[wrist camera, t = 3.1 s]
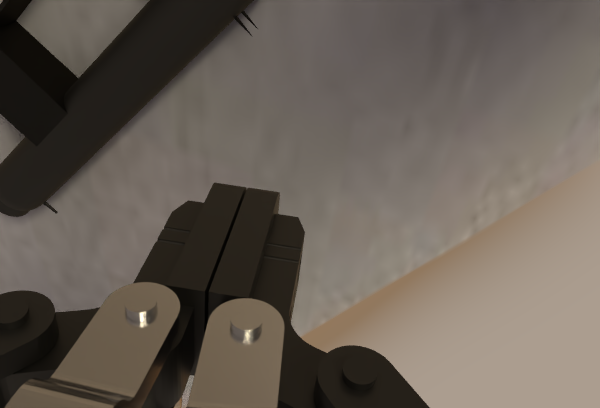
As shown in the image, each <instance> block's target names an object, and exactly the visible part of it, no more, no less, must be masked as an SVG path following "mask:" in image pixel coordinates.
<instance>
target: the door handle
mask: <svg viewBox="0 0 600 408" xmlns="http://www.w3.org/2000/svg"><path fill="white" fill-rule="evenodd" d="M253 1H254V0H150V1H149V2H148V3H147V4H146V5H145V6H144V7H143V9H142V10H141V11H140V12H139V13H138V14H137V15H136V16H135V17H134V18H133V20H132V21H131V22H130V23H129V24H128V25H127V26H126V27H125V28H124V29H123V30H122V32H121V33H120V34H119V35H118V36H117V37H116V38H115V39H114V40H113V41H112V43H111V44H110V45H109V46H108V47H107V48H106V49H105V50H104V51H103V52H102V53H101V55H100V56H99V57H98V58H97V59H96V60H95V61H94V62H93V63H92V64H91V66H90V67H89V68H88V69H87V70H86V71H85V72H84V73H83V74H82V75H81V77H80V78H77V77H76V76H75V75H74V74H73V73H72V72H71V71H70V70H69V69H68V68H67V67H66V66H64V65H63V64H62V63H61V62H60V61H59V60H58V59H57V58H56V57H55V56H54V55H52V54H51V53H50V52H49V51H48V50H47V49H46V48H45V47H44V46H43V45H42V44H41V43H39V42H38V41H37V40H36V39H35V38H34V37H33V36H32V35H31V34H30V33H29V32H28V31H26V30H25V29H24V28H23V27H22V26H21V25H20V24H19V23H18V22H17V21H16V20H17V18H18V17H19V16H20V15H21V13H22V12H23V11H24V9H25V8H26V7H27V6H28V4H29V3H30V2H31V0H3V1H2V3H1V4H0V114H1V115H3V116H4V117H5V118H6V119H7V120H8V121H9V122H10V123H11V124H12V125H14V126H15V127H16V128H17V129H18V130H19V131H20V132H21V133H22V134H23V135H24V136H26V137H25V138H24V139H23V140H22V141H21V142H20V143H19V144H18V146H17V147H16V148H15V149H14V150H13V151H12V152H11V153H10V154H9V155H8V156H7V158H6V159H5V160H4V161H3V162H2V163H1V164H0V212H1V213H3V214H5V215H8V216H14V217H18V216H23V215H25V214H26V213H28V212H29V211H30V210H32V209H35V208H37V207H39V206H41V205H42V204H45V205H46V206H47V207H48V208H50V209H51V210H52V211H53V212H55V213H58V212H57V211H56V210H55V209H54V208H53V207H51V206H50V205H49V204H48V203H47V202H46V201H47V200H48V199H49V198H50V197H51V196H52V195H53V194H54V193H55V192H56V191H57V190H58V189H59V188H60V187H61V186H62V185H63V184H64V183H65V182H66V181H67V180H68V179H69V178H71V177H72V176H73V175H74V174H75V173H76V172H77V171H78V170H79V169H80V168H81V167H82V166H83V165H84V164H85V163H86V162H87V161H88V160H89V159H90V158H91V157H92V156H93V155H94V154H95V153H96V152H97V151H98V150H99V149H100V148H102V147H103V146H104V145H105V144H106V143H107V142H108V141H109V140H110V139H111V138H112V137H113V136H114V135H115V134H116V133H117V132H118V131H119V130H120V129H121V128H122V127H123V126H124V125H125V124H126V123H127V122H128V121H129V120H130V119H132V118H133V117H134V116H135V115H136V114H137V113H138V112H139V111H140V110H141V109H142V108H143V107H144V106H145V105H146V104H147V103H148V102H149V101H150V100H151V99H152V98H153V97H154V96H155V95H156V94H157V93H158V92H159V91H160V90H162V89H163V88H164V87H165V86H166V85H167V84H168V83H169V82H170V81H171V80H172V79H173V78H174V77H175V76H176V75H177V74H178V73H179V72H180V71H181V70H182V69H183V68H184V67H185V66H186V65H187V64H188V63H189V62H190V61H192V60H193V59H194V58H195V57H196V56H197V55H198V54H199V53H200V52H201V51H202V50H203V49H204V48H205V47H206V46H207V45H208V44H209V43H210V42H211V41H212V40H213V39H214V38H215V37H216V36H217V35H218V34H219V33H220V32H222V31H223V30H224V29H225V28H226V27H227V26H228V25H229V24H230V23H231V22H232V21H233V20H234V19H235V20H236V21H237V22H238V23H239V24H240V25H241V26H242V27H243V28H244V29H245V30H246V31H247V32H248V33H249V34H250V32H249V31H248V30H247V28H246V27H245V26H244V25H243V23H242V22H241V21H240V19H239V18H238V17H237V16H238V15H239V14H240V13H242V14H243V15H244V16H245V17H246V18H247V19H248V20H249V21H250V22H251V23H252V24H253V25H254V26H255V24H254V23H253V22H252V21H251V19H250V18H249V17H248V15H247V14H246V13H245V11H244V9H245V8H246V7H247V6H248V5H249V4H250V3H252V2H253ZM255 27H256V26H255ZM256 28H257V27H256ZM257 29H258V28H257ZM250 35H251V34H250ZM251 36H252V35H251ZM252 37H253V36H252Z"/></svg>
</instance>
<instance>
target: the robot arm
mask: <svg viewBox="0 0 600 408" xmlns="http://www.w3.org/2000/svg"><path fill="white" fill-rule="evenodd" d="M279 200H280V193H279V192H273V191H267V190H260V189H253V188H248V189H247V188H246V187H240V186H233V185H227V184H220V183H214V184H213V186H212V188H211V190H210V192H209V194H208V196H207V198H206V200H205V202H204V203H201V202H195V201H187V202H186V203H184V204H183V205H181V206H180V207H179V208H177V209H176V210H174V211H173V212H172V213H171V215H170V217H169V219H168V221H167V223H166V224H165V226H164V230H162V232H161V234H160V235H159V237H158V241H157V242H156V243H155V244H154V246H153V248H152V250H151V252H150V254H149V255H148V257H147V259H146V261H145V263H144V265H143V266H142V268H141V270H140V272H139V274H138V276H137V277H136V279H135V281H134V283H133V284H129V285H126V286H124V287H121V288H119V289H118V290H116V291H114V292H113V293H112V294H111V295H109V296H108V298H107V299H106V300H105V301H104V303H103V304H102V306H101V307H99V308H95V309H89V310H80V311H68V312H56V313H55V308H54V305H53V303H52V302H51V300H50V299H49V298H47V297H46V296H44V295H43V294H40V293H37V292H33V291H13V292H7V293H4V294H0V408H181V407H182V395H183V392H184V390H185V387H186V384H187V381H188V378H189V376H190V375H194V380H193V384H192V388H191V392H190V396H189V400H188V404H187V407H186V408H429V407H428V405H427V404H426V403H425V402H424V401H423V400H422V399H421V397H420V396H419V395H418V394H417V393H416V392H415V391H414V389H413V388H412V387H411V386H410V385H409V384H408V383H407V381H406V380H405V379H404V378H403V377H402V376H401V375H400V373H399V372H398V371H397V370H396V369H395V368H394V366H393V365H392V364H391V363H390V362H389V361H388V360H387V359H386V358H385V357H384V356H382V355H381V354H379V353H377V352H376V351H374V350H371V349H369V348H365V347H361V346H342V347H339V348H335V349H334V350H331V351H330V352H328V353H326V352H323V351H321V350H319V349H317V348H315V347H313V346H311V345H309V344H308V343H306V342H305V341H303V340H302V339H301V338H300V337H299V336H298V335H297V333H296V332H295V331H294V329H293V327H292V325H291V318H292V312H293V307H294V302H295V297H296V291H297V286H298V280H299V272H300V265H301V257H302V250H303V242H304V235H305V232H304V229H303V227H302V225H301V222H300V220H299V218H298V217H293V216H286V215H280V214H278V210H279Z"/></svg>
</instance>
